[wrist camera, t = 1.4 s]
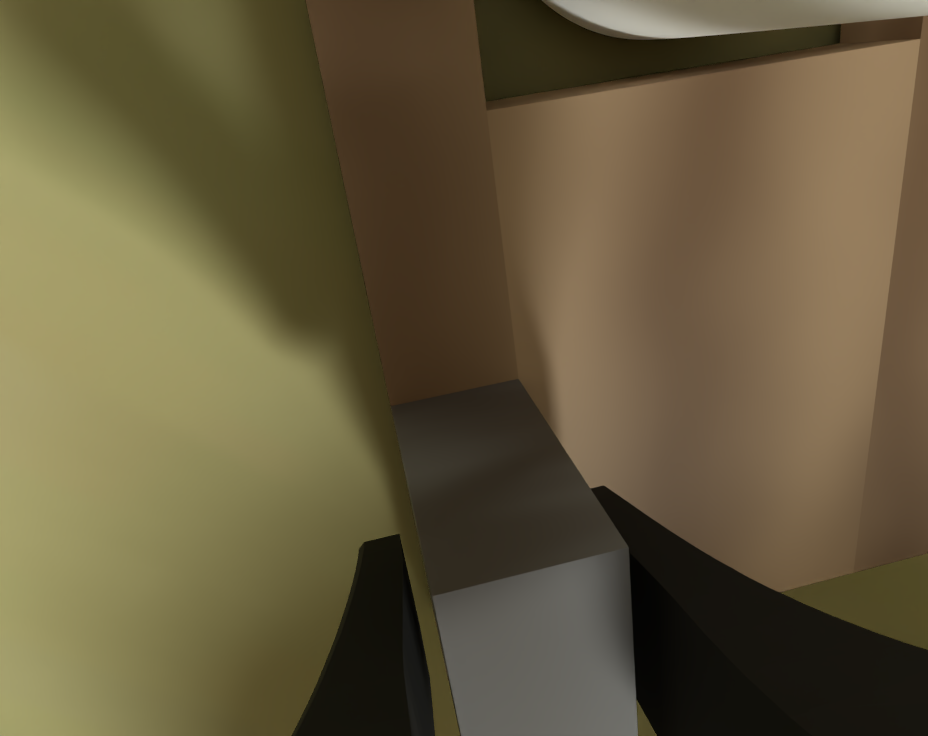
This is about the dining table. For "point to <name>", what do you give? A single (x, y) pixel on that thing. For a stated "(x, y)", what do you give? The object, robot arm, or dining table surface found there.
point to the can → (723, 15)
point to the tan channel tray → (634, 330)
